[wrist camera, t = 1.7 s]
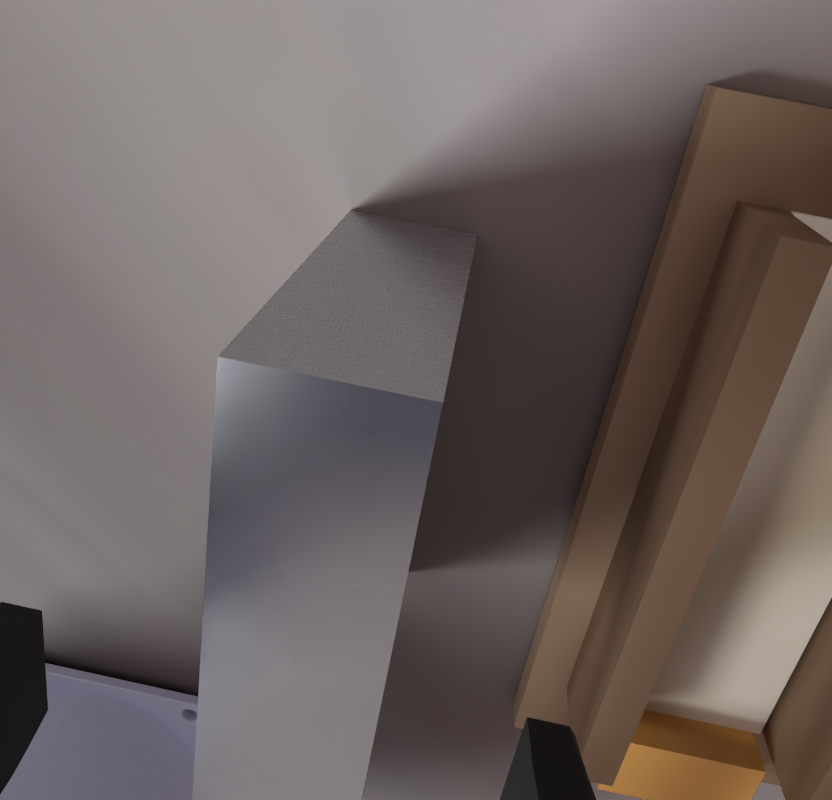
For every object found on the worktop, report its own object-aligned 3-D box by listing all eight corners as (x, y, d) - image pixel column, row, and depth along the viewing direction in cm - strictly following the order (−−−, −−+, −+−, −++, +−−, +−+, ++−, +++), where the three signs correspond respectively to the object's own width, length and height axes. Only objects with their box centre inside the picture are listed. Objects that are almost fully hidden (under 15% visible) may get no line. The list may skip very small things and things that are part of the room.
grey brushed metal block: (307, 549, 23) (189, 839, 15) (351, 209, 18) (217, 356, 10) (408, 571, 23) (346, 874, 15) (477, 234, 18) (443, 403, 10)
